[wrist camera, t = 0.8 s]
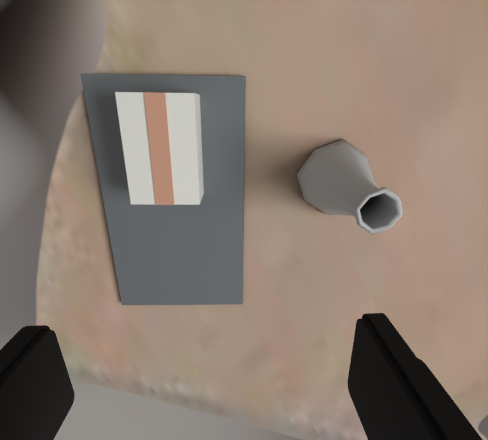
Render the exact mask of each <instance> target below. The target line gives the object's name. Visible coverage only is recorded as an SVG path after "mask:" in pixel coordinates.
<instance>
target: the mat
mask: <svg viewBox="0 0 488 440" xmlns="http://www.w3.org/2000/svg"><path fill="white" fill-rule="evenodd" d="M81 79H82V84H83V90H84V96H85V101H86V107H87V112H88V118H89V124H90V129H91V135H92V140H93V146H94V152H95V157H96V163H97V168H98V174H99V180H100V185H101V191H102V196H103V202H104V208H105V213H106V219H107V224H108V230H109V236H110V241H111V247H112V252H113V258H114V264H115V269H116V275H117V280H118V286H119V292H120V297H121V303H122V305H199V304H243V235H244V156H245V76H196V75H133V74H81ZM115 92H154V93H196V94H199V95H200V114H201V138H202V162H203V186H204V194H203V197H202V200H201V202H200V205H144V204H131V202H130V195H129V188H128V181H127V174H126V167H125V160H124V152H123V145H122V138H121V131H120V124H119V117H118V110H117V103H116V96H115Z"/></svg>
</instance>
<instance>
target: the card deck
mask: <svg viewBox="0 0 488 440" xmlns="http://www.w3.org/2000/svg"><path fill="white" fill-rule="evenodd" d="M115 96H116V103H117V110H118V117H119V124H120V131H121V138H122V145H123V152H124V160H125V167H126V174H127V181H128V188H129V195H130V202H131V204H144V205H200V202H201V200H202V197H203V194H204V186H203V162H202V138H201V114H200V95H199V94H196V93H154V92H115Z"/></svg>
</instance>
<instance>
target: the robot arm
mask: <svg viewBox="0 0 488 440" xmlns="http://www.w3.org/2000/svg"><path fill="white" fill-rule="evenodd" d="M348 389H349V393H350V396H351V398H352V401H353V403H354V406H355V408H356V411H357V413H358V416H359V418H360V420H361V423H362V425H363V428H364V430H365V433H366V435H367V438H368V440H482V439H481V437H480V436H479V435H478V433H477V432H476V431H475V429H474V428H473V427H472V425H471V424H470V423H469V421H468V420H467V419H466V417H465V416H464V415H463V413H462V412H461V411H460V409H459V408H458V407H457V405H456V404H455V403H454V401H453V400H452V399H451V397H450V396H449V395H448V393H447V392H446V391H445V389H444V388H443V387H442V385H441V384H440V383H439V381H438V380H437V379H436V377H435V376H434V375H433V373H432V372H431V371H430V369H429V368H428V367H427V365H426V364H425V363H424V362H423V361H422V360H420V359H418V358H417V357H416V356H415V354H414V353H413V352H412V350H411V349H410V348H409V346H408V345H407V344H406V342H405V341H404V340H403V338H402V337H401V335H400V334H399V333H398V331H397V330H396V329H395V327H394V326H393V325H392V323H391V322H390V321H389V319H388V318H387V317H386V315H385V314H383V313H374V314H363V316H362V319H358V320H357V323H356V330H355V336H354V343H353V350H352V356H351V363H350V370H349V376H348ZM73 401H74V391H73V387H72V384H71V381H70V378H69V375H68V372H67V369H66V365H65V362H64V359H63V356H62V353H61V350H60V347H59V344H58V340H57V337H56V334H55V332H54V331H53V330H50V328H49V327H48V326H45V325H43V326H26V327H23V328H22V329H21V330H20V331H19V332H18V333H17V334H16V335H15V336H14V337H13V338H12V339H11V340H10V341H9V342H8V343H7V344H6V345H5V346H4V347H3V348H2V349H1V350H0V440H53V439H54V437H55V436H56V434H57V432H58V430H59V428H60V426H61V425H62V423H63V421H64V419H65V417H66V416H67V414H68V412H69V410H70V408H71V406H72V404H73Z"/></svg>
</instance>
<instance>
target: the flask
mask: <svg viewBox="0 0 488 440" xmlns="http://www.w3.org/2000/svg"><path fill="white" fill-rule="evenodd" d="M297 177H298V181H299V184H300V188H301V191H302V194H303V198H304V200H305V201H306V202H308V203H309V204H311V205H312V206H314V207H315V208H317V209H318V210H320V211H322V212H323V213H325V214H328V215H350V216H354V217H356V221H357V224H358V225H359V226H360V227H362V228H363V229H365V230H366V231H368V232H369V233H371V234H375V233H378V232H381V231H385V230H388V229H390V228H391V227H392V226H393V225H394V224H395V223H396V222H397V220H398V219H399V218H400V217H401V216H402V215H403V212H402V206H401V200H400V198H399V197H398V196H397V195H395V194H394V193H392V192H391V191H390V190H388V189H387V188H385V187H382V188H379V187H378V186H377V185H376V184H375V182H374V179H373V176H372V174H371V171H370V167H369V164H368V160H367V157H366V155H365V154H363V153H362V152H361V151H359V150H358V149H356V148H355V147H354V146H352V145H351V144H350V143H348V142H347V141H346V140H344V139H342V140H340V141H337V142H334V143H331V144H329V145H326V146H323V147H320V148H318V149H315V150H314V151H313V152H312V154H311V155H310V157H309V158H308V159H307V161H306V162H305V163H304V165H303V166H302V168H301V169H300V170H299V172H298V173H297Z"/></svg>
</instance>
